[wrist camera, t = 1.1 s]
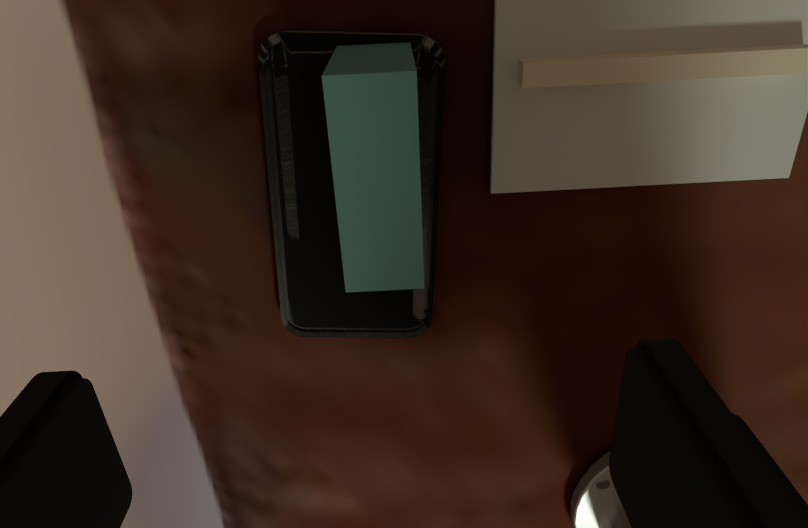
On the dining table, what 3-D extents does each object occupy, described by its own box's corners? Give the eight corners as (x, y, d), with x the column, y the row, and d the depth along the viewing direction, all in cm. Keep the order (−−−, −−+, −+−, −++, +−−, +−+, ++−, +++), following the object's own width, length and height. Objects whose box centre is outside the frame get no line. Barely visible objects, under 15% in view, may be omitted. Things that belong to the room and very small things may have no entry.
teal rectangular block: (416, 214, 28) (424, 288, 22) (354, 217, 28) (345, 292, 22) (409, 39, 25) (416, 70, 18) (338, 43, 25) (321, 75, 18)
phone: (447, 35, 24) (430, 338, 31) (445, 32, 25) (429, 326, 32) (252, 31, 24) (280, 337, 31) (258, 28, 24) (283, 324, 32)
